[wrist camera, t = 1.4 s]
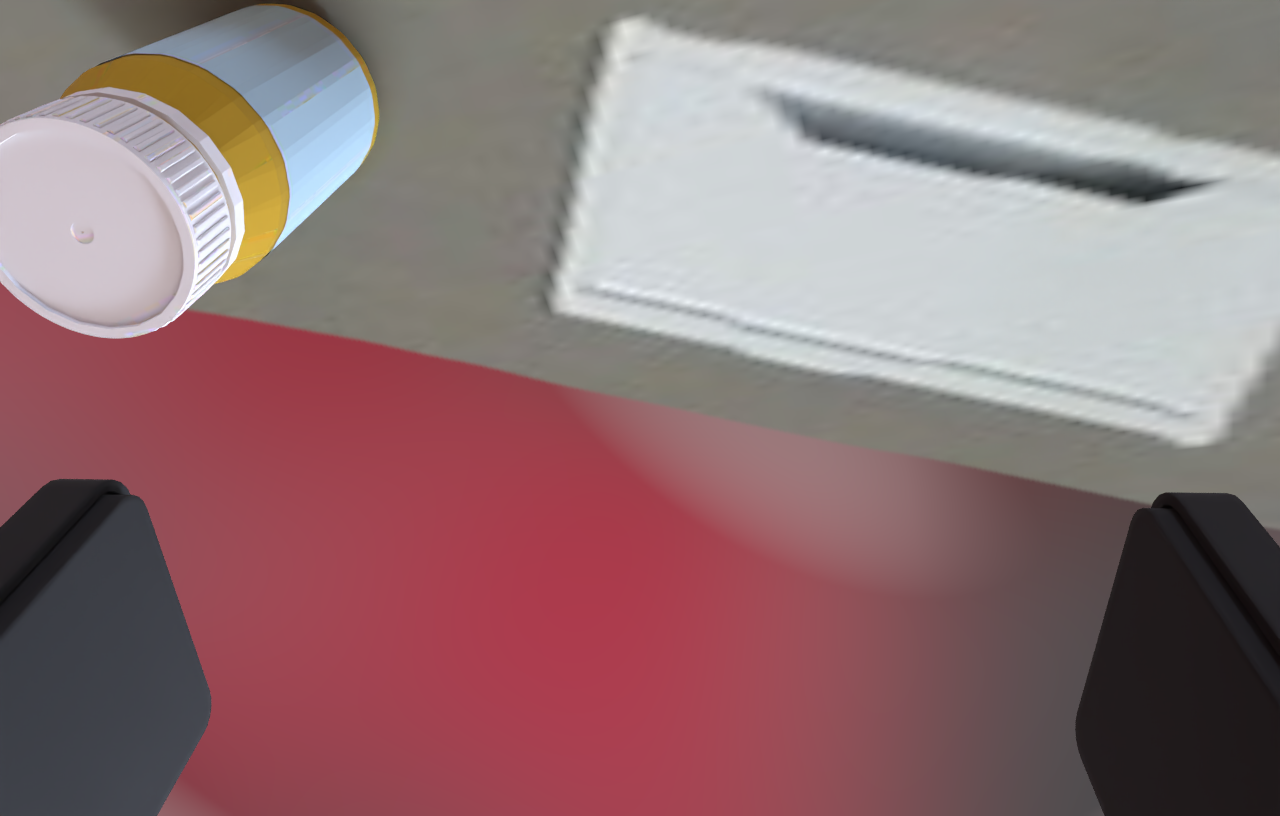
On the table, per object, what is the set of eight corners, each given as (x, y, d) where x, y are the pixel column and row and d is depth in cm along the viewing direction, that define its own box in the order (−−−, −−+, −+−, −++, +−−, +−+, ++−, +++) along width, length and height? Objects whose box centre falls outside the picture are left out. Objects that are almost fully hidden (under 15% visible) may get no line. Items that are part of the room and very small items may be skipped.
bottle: (200, 149, 40) (-50, 306, 27) (216, -28, 36) (-65, 57, 23) (367, 205, 40) (201, 385, 27) (399, 37, 37) (224, 154, 24)
